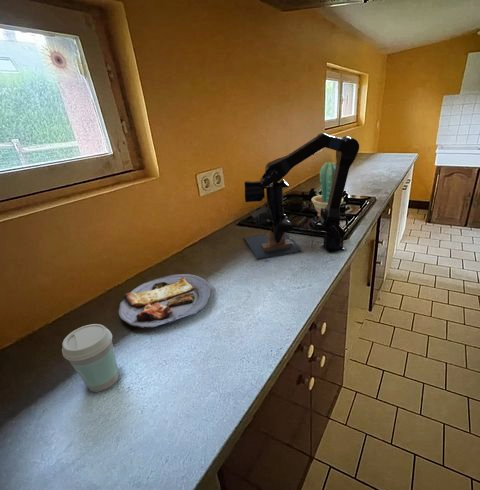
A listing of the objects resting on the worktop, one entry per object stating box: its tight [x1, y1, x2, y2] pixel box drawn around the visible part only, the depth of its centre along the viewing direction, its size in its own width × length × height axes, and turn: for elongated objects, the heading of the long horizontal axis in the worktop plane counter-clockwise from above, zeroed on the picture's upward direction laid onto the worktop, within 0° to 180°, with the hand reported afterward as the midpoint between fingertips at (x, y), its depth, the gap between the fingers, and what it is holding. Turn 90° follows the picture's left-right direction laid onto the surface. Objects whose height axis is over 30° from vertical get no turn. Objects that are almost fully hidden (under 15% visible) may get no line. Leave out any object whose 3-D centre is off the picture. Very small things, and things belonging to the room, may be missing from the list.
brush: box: [261, 231, 293, 254], centre depth 111 cm, size 11×4×7 cm, turn 109°
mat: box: [244, 233, 302, 261], centre depth 119 cm, size 17×20×1 cm
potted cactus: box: [311, 161, 345, 217], centre depth 142 cm, size 15×15×25 cm
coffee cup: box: [61, 323, 120, 393], centre depth 60 cm, size 8×8×12 cm
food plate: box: [117, 273, 211, 329], centre depth 86 cm, size 25×23×4 cm
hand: (276, 241), depth 112 cm, fingers closed on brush, 2 cm apart
